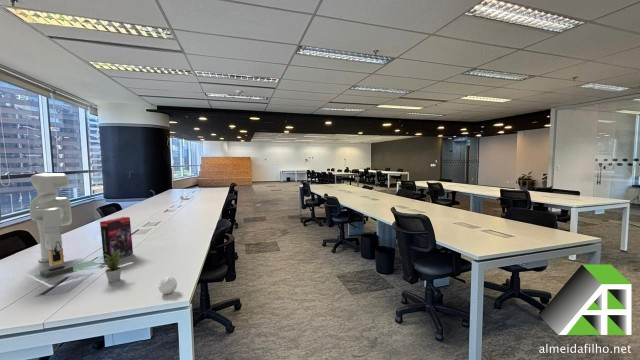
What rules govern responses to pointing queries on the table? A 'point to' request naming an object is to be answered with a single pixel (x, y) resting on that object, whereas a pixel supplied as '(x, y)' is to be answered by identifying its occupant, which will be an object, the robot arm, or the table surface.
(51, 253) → the plug
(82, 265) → the header board
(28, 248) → the table surface
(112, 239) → the graphics card box
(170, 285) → the white rough ball
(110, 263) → the house plant
